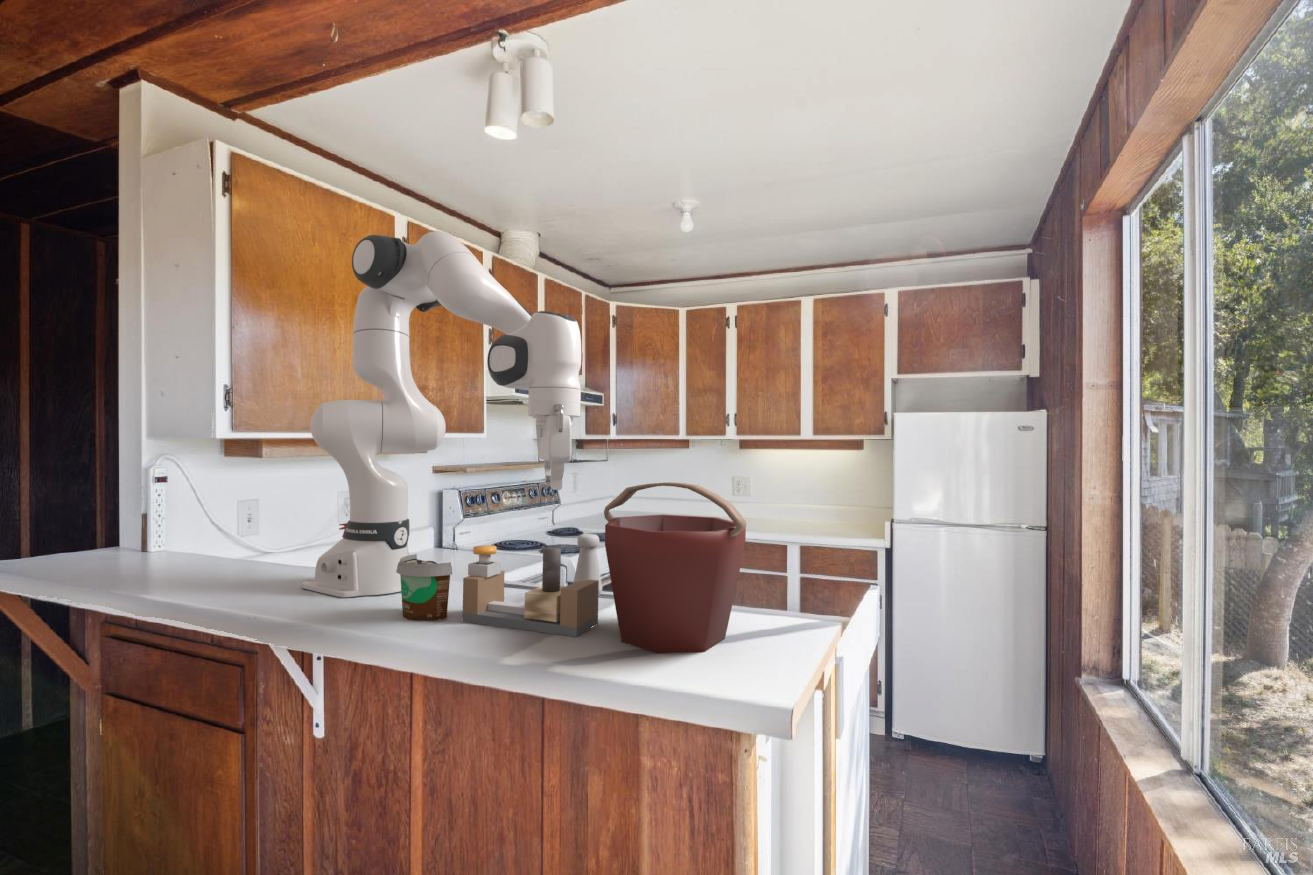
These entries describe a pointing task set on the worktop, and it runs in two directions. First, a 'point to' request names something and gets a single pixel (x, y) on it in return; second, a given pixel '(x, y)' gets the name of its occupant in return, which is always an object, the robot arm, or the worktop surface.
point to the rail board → (490, 609)
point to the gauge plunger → (484, 553)
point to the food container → (424, 588)
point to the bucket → (674, 574)
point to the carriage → (546, 590)
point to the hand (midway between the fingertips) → (553, 487)
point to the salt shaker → (588, 559)
